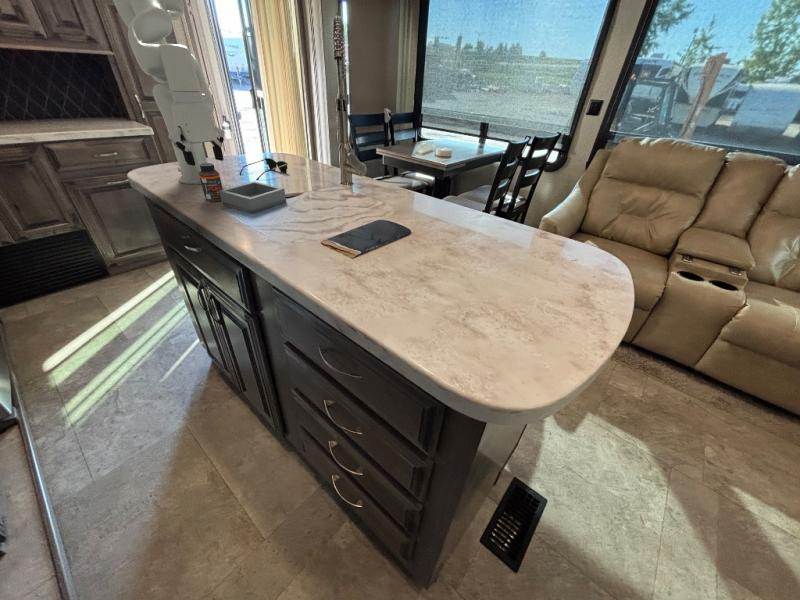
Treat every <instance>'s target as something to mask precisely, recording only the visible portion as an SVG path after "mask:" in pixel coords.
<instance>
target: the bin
mask: <svg viewBox="0 0 800 600" xmlns="http://www.w3.org/2000/svg"><path fill="white" fill-rule="evenodd" d="M219 192H220V196H221V200H222V201H221V203H222V205H223V206H226V207H228V208H229V207H230V208H233V209H236V210H240V211H243V212H248V213H249V214H257V213H259V212H262V211H265V210H268V209H270V207H271V208H272V207H276V206H279V205H281V203H282V204H285V203H287V198H286V192H285V188H284V187H280V186H275V185H271V184H267V183H263V182H259V181H256V180H254V181H250V182H247V183H244V184H239V185H236V186H232V187H228V188H225V189H224V188H223V190H220V191H219ZM278 204H279V205H278ZM275 205H276V206H275Z"/></svg>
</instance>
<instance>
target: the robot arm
mask: <svg viewBox="0 0 800 600" xmlns="http://www.w3.org/2000/svg"><path fill="white" fill-rule="evenodd" d="M112 2H113V4H114V6H115V9H116V10H117V13H118V14H119V16H120V18H121V19H122V21H123V23H124V24H125V26H126V27H127V28H128V30H127V37H128V42H129V45H130V48H131V51H132V53H133V55H134V57H135V59H136V62H137V64H138V66H139V68H140V69H141V70H142V72H143V73H145V75H147V76H150V77H151V78H152V79H153V80H155V81H156V82H158V83H156V84H155V85H154V86H153V88H152V95H153V99H154V101H155V103H156V105H157V107H158V110H159V112H160V115H161V116H162V118H163V120H164V123H165V126H166V129H167V133H168V135H167V137H168V139H169V140H170V142H171V145H172V148H173V151H174V155H175V158H176V160H177V163H178V167H177V171H178V172H180V174H181V176H179V177H178V181H179V183H181V184H186V185H187V184H188V185H199V184H200V185H201V181H200V177H199V172H200V171H201V169H200V164H203V163H208V161H207V157H206V154H205V149H204V146H203V143H211V144H212V151H213V154H214V159H215V160H216V161H221V162H222V161H224V154H223V149H222V147H223V143H224V141H225V138H224V137H225V130H223V129H221V128H220V127H217V126H215V123H214V120H213V118H212V114H213V112H214V110H215V104H214V100H213V97H212V94H211V92H210V88H209V86H208V84H207V81H206V78H205V76H204V73H203V70H202V67H201V65H200V63H199V61H198V59H197V58H196V56H194V55H193V54H192V52H191V50H190V48H189V47H187V46H185V45H184V44H177V43H175V44H174V43H168V42H167V39H166V38H167V37H168V36H170V35H171V33H172V32H173V31H172V30H173V22H172V21H178V19H180V18H181V17H182V16H183V14H184V12H185V3H184V0H112Z"/></svg>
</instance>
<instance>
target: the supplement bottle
mask: <svg viewBox="0 0 800 600" xmlns="http://www.w3.org/2000/svg"><path fill="white" fill-rule="evenodd" d="M200 169H201V171H200V172H199V177H200V181H201V184H200V185H201V186H202V191H203V196H204V198H205V200H206V201H207V202H209V203H210V202H211V203H217V202H222V200H221V196H220V192H219V191H220V190H224V187H223V184H222V179H221V175H220V172H219V171H218V170H216V169H215V165H214V163H210V162H207V163H203V164H200Z"/></svg>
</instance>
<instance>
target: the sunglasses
mask: <svg viewBox="0 0 800 600" xmlns="http://www.w3.org/2000/svg"><path fill="white" fill-rule="evenodd" d="M264 161H265V162H266V165H268V168H269V169H268V170H265V171H263V172H262V173H261V174H260V175H259V176H258V177H257V178H256V179H255V181H259V180H260V178H261V177H262V176H263V175H265V173H268V172H270V171H276V169H279V171H280V172H281V173H284V172H285V174H287V173H288V172H287V171H288V165H289V163H287V162H286V161H283V160H279V161H276V160H275V159H272V158H269V157H268V158H264V159H260V160H258V161H255V162H251V163H249V164H245V165H244V166H242V167H241V170H240V172H239V175H240V176H242V173H243V170H244V169H245V167H248V166H251V165H254V164H257V163H260V162H264ZM239 175H238V176H239Z"/></svg>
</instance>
